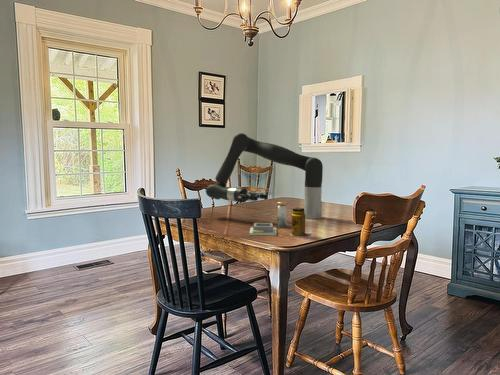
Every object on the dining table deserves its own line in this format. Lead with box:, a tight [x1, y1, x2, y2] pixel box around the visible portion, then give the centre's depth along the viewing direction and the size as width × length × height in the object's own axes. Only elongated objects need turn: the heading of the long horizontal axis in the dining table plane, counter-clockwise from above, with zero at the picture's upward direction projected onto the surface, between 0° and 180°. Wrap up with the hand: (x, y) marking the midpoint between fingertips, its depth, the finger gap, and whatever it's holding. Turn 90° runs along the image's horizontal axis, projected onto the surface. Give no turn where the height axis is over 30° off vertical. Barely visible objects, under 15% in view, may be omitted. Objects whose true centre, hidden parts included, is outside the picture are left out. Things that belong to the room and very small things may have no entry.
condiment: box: [288, 207, 310, 238], centre depth 169 cm, size 7×8×12 cm
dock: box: [248, 222, 278, 237], centre depth 173 cm, size 12×12×4 cm
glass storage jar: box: [276, 201, 288, 229], centre depth 187 cm, size 5×5×12 cm
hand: (262, 197), depth 193 cm, fingers open, 8 cm apart
